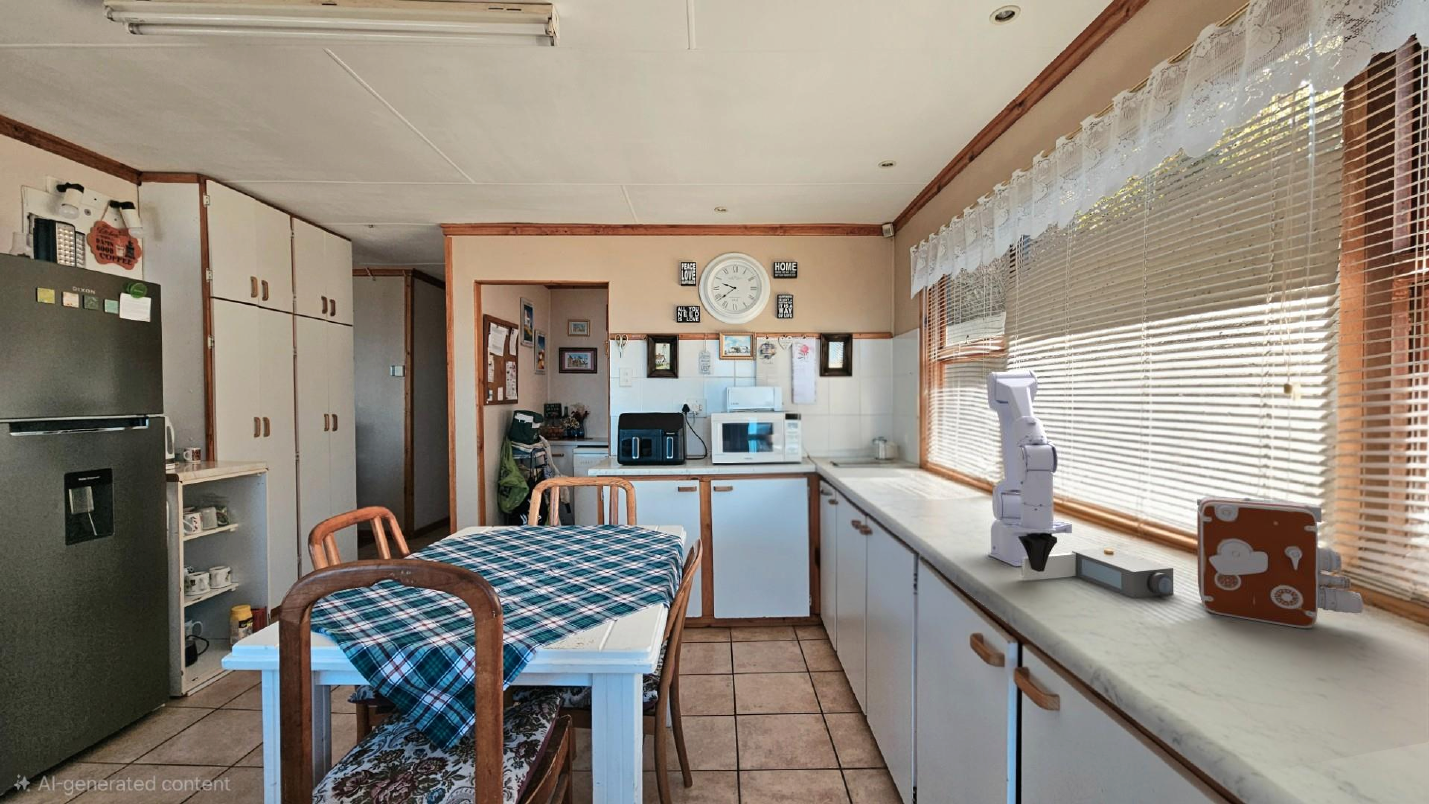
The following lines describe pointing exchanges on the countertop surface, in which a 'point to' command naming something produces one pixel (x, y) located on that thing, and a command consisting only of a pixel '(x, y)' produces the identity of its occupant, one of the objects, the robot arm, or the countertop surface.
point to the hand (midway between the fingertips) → (1037, 570)
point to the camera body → (1124, 572)
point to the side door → (1051, 567)
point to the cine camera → (1267, 562)
